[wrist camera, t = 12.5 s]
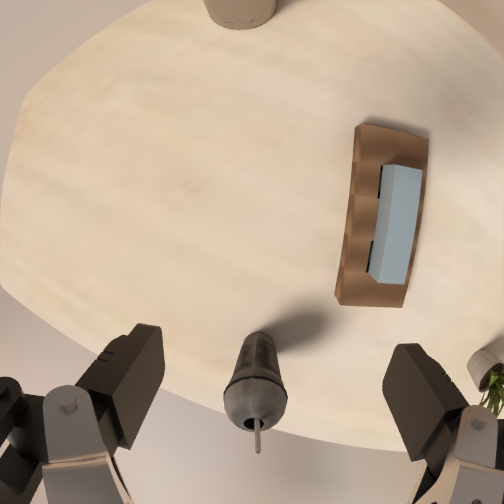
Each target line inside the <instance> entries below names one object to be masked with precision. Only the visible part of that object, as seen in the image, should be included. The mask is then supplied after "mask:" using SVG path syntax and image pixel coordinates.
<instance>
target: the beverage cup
mask: <svg viewBox="0 0 504 504" xmlns="http://www.w3.org/2000/svg"><path fill="white" fill-rule="evenodd" d="M287 399H288V396H287V392H286V390H285V388H284V385H283V382H282V380H281V375H280V369H279V364H278V359H277V353H276V349H275V346H274V341H273V339H272V338H271V337H270V336H269V335H267V334H264V333H258V332H257V333H252V334H250V335H248V336H247V337H246V338H245V340H244V343H243V345H242V347H241V350H240V354H239V357H238V360H237V363H236V366H235V370H234V373H233V376H232V378H231V380H230V382H229V384H228V386H227V387H226V389H225V391H224V407H225V411H226V413H227V415H228V417H229V419H230V420H231V421H232V422H233V423H234V424H235V425H236V426H237V427H239V428H241V429H243V430H246V431H249V432H255V453H257V454H259V453H261V442H260V431H264V430H267V429H270V428H271V427H273V426H274V425H275V424H277V423H278V422H279V420H280V419H281V418H282V416H283V414H284V412H285V408H286V404H287Z"/></svg>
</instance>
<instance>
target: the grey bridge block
mask: <svg viewBox="0 0 504 504" xmlns="http://www.w3.org/2000/svg"><path fill="white" fill-rule="evenodd" d="M421 179H422V170H418V169H414V168H409V167H405V166H400V165H383V170H382V172H380V179H379V188H378V191H379V192H380V200H379V208H378V216H377V223H376V230H375V237H374V242H371V246H370V252H369V258H368V262H369V263H370V266H369V271H368V273H369V274H370V275H371V276H372V277H373V278H374V279H375V280H376V281H377V282H378V283H389V284H404V283H405V279H406V274H407V270H408V265H409V260H410V255H411V250H412V245H413V239H414V233H415V227H416V220H417V214H418V206H419V198H420V189H421Z"/></svg>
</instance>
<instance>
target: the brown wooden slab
mask: <svg viewBox="0 0 504 504" xmlns="http://www.w3.org/2000/svg"><path fill="white" fill-rule="evenodd" d="M428 146H429V139H426V138H423V137H419V136H415V135H412V134H408V133H404V132H400V131H396V130H392V129H387V128H383V127H378V126H374V125H369V124H364V123H363V124H361V125H359V126H357V127H355V134H354V149H353V162H352V173H351V183H350V193H349V202H348V210H347V218H346V226H345V233H344V240H343V247H342V253H341V260H340V266H339V272H338V277H337V283H336V289H335V296H336V298H337V300H338V302H339V304H340V305H346V306H367V307H396V308H402V306H403V303H404V299H405V295H406V291H407V287H408V283H409V279H410V275H411V270H412V266H413V261H414V256H415V251H416V246H417V241H418V235H419V229H420V223H421V216H422V210H423V202H424V194H425V185H426V175H427V162H428ZM383 165H400V166H405V167H409V168H414V169H418V170H422V179H421V189H420V198H419V206H418V214H417V220H416V227H415V233H414V239H413V245H412V250H411V255H410V260H409V265H408V270H407V274H406V279H405V283H404V284H389V283H378V282H377V281H376V280H375V279H374V278H373V277H372V276H371V275H370V274H369V273H368V271H369V266H370V265H367V263H368V258H369V252H370V246H371V241H374V237H375V230H376V223H377V216H378V208H379V200H380V198H377V197H378V188H379V179H380V168H381V167H383Z"/></svg>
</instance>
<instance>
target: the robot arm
mask: <svg viewBox="0 0 504 504" xmlns="http://www.w3.org/2000/svg"><path fill="white" fill-rule="evenodd" d="M203 1H204V3H205V5H206V8H207V10H208V12H209V15H210V17H211V18H212V19H213V21H214V22H216V23H217V24H218V25H221V26H223V27H225V28H229V29H237V30H242V29H250V28H254V27H257V26H259V25H261V24H263V23H265V22H266V21H268V20H269V19H270V18H271V17H272V15H273V14H274V12H275V9H276V0H203ZM164 371H165V361H164V350H163V339H162V330H161V328H160V327H159V326H152V325H147V324H141V323H138V324H137V325H136V326H135V327H134V329H133V330H132V331H131V332H130V334H129V335H128V336H127V335H121V336H119V337H118V338H116V339H114V340H112V341H111V342H110V343H109V344H108V345H107V346H106V348H105V349H104V350H103V352H101V354H100V355H99V356H98V357H97V360H95V361H94V362H93V363H92V364H91V366H90V367H89V368H88V369H87V370H86V372H85V373H84V374H83V375H82V377H81V378H80V379H79V380H78V382H77V383H76V384H75V385H74V386H72V385H65V386H60V387H57V388H55V389H53V390H51V391H50V392H49V393H48V394H47V395H46V396H45V397H44V396H36V395H30V394H24V393H23V391H22V389H21V386H20V384H19V383H18V381H16V380H15V379H13V378H11V377H0V447H1V445H2V444H3V442H4V441H5V439H6V438H7V439H8V440H9V442H10V444H9V446H8V447H7V449H6V450H5V452H4V453H3V455H2V456H1V458H0V504H30V502H31V500H32V498H33V496H34V494H35V492H36V490H37V488H38V486H39V484H40V482H41V480H42V478H43V480H44V486H45V490H46V495H47V500H48V504H134V502H133V500H132V498H131V495H130V493H129V491H128V488H127V486H126V484H125V482H124V479H123V477H122V474H121V472H120V469H119V467H118V464H117V462H116V459H115V457H114V453H115V451H116V449H117V447H118V446H119V447H122V448H125V449H128V450H130V449H131V447H132V445H133V442H134V440H135V438H136V436H137V433H138V431H139V429H140V427H141V425H142V423H143V421H144V418H145V416H146V414H147V412H148V410H149V408H150V406H151V403H152V401H153V399H154V397H155V395H156V393H157V391H158V389H159V387H160V384H161V382H162V380H163V377H164ZM382 390H383V395H384V397H385V399H386V402H387V404H388V406H389V408H390V411H391V413H392V415H393V418H394V420H395V422H396V425H397V427H398V430H399V432H400V434H401V437H402V439H403V442H404V444H405V447H406V449H407V451H408V454H409V457H410V459H411V461H417V460H421V459H425V460H426V462H427V463H426V464H425V465H424V466H423V468H422V470H421V473H420V475H419V478H418V480H417V482H416V485H415V487H414V490H413V492H412V494H411V496H410V499H409V501H408V503H407V504H504V419H496V417H495V415H494V414H493V413H492V412H491V411H490V410H489V409H487V408H485V407H483V406H479V405H471V406H470V405H469V404H468V402H467V401H466V399H465V398H464V396H463V395H462V394H461V392H460V391H459V389H458V388H457V387H456V385H455V384H454V383H453V382H451V379H450V377H449V376H448V374H446V372H445V370H444V369H443V368H442V366H441V365H440V364H439V363H438V362H436V361H435V360H434V359H432V358H431V357H430V356H428V355H427V354H426V352H425V351H424V350H423V348H422V347H421V346H420V345H419V344H418V343H410V344H398V345H397V346H396V347H395V349H394V352H393V355H392V358H391V361H390V363H389V366H388V369H387V371H386V374H385V376H384V379H383V385H382Z"/></svg>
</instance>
